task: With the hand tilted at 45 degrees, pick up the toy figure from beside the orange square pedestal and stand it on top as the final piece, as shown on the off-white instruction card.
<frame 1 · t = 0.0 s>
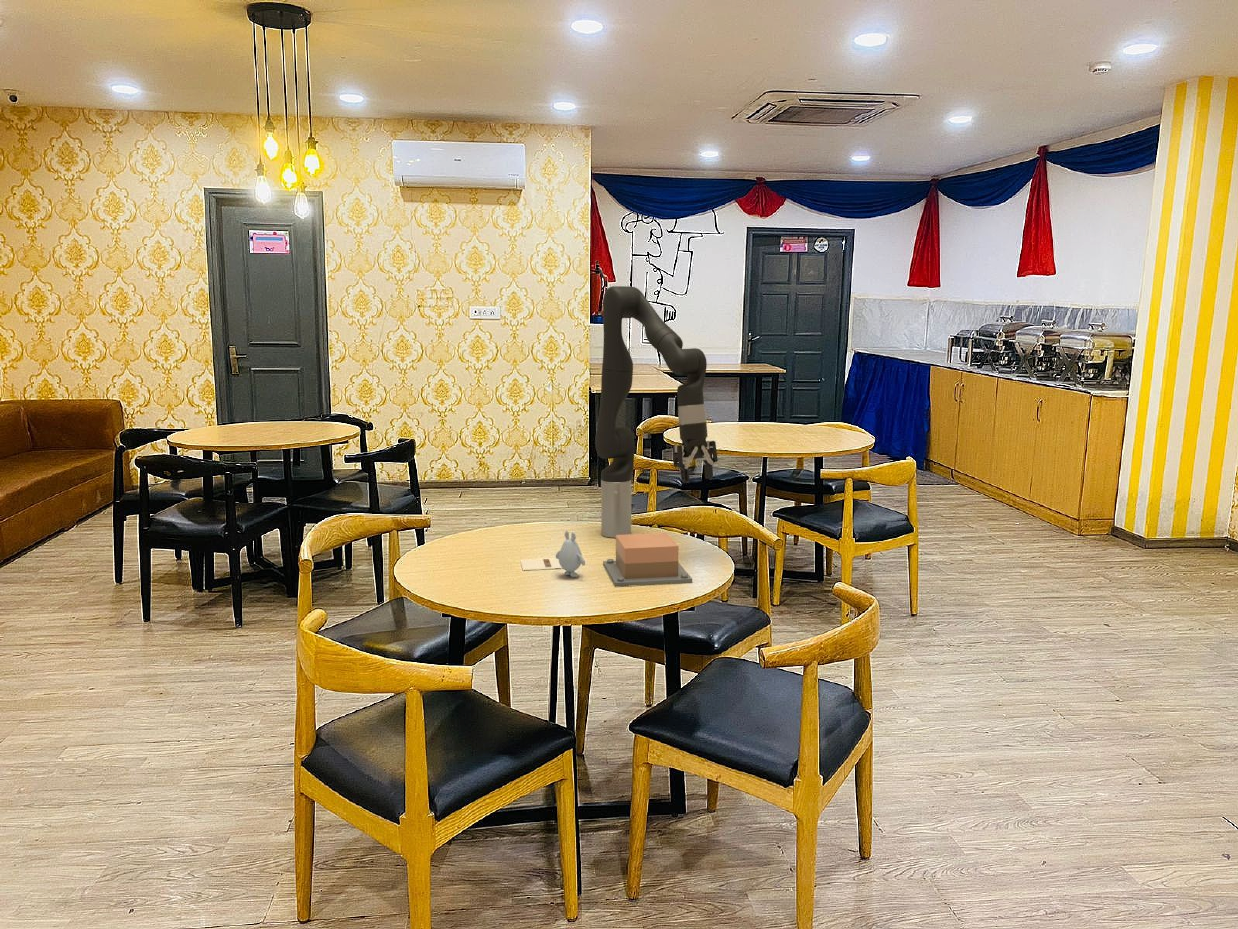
hand: (697, 480, 252), 22 cm above the table, tool pointing down, fingers open, 8 cm apart
orange square pedestal: (646, 573, 243), on the table
toy figure: (570, 577, 241), on the table
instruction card: (547, 564, 252), on the table
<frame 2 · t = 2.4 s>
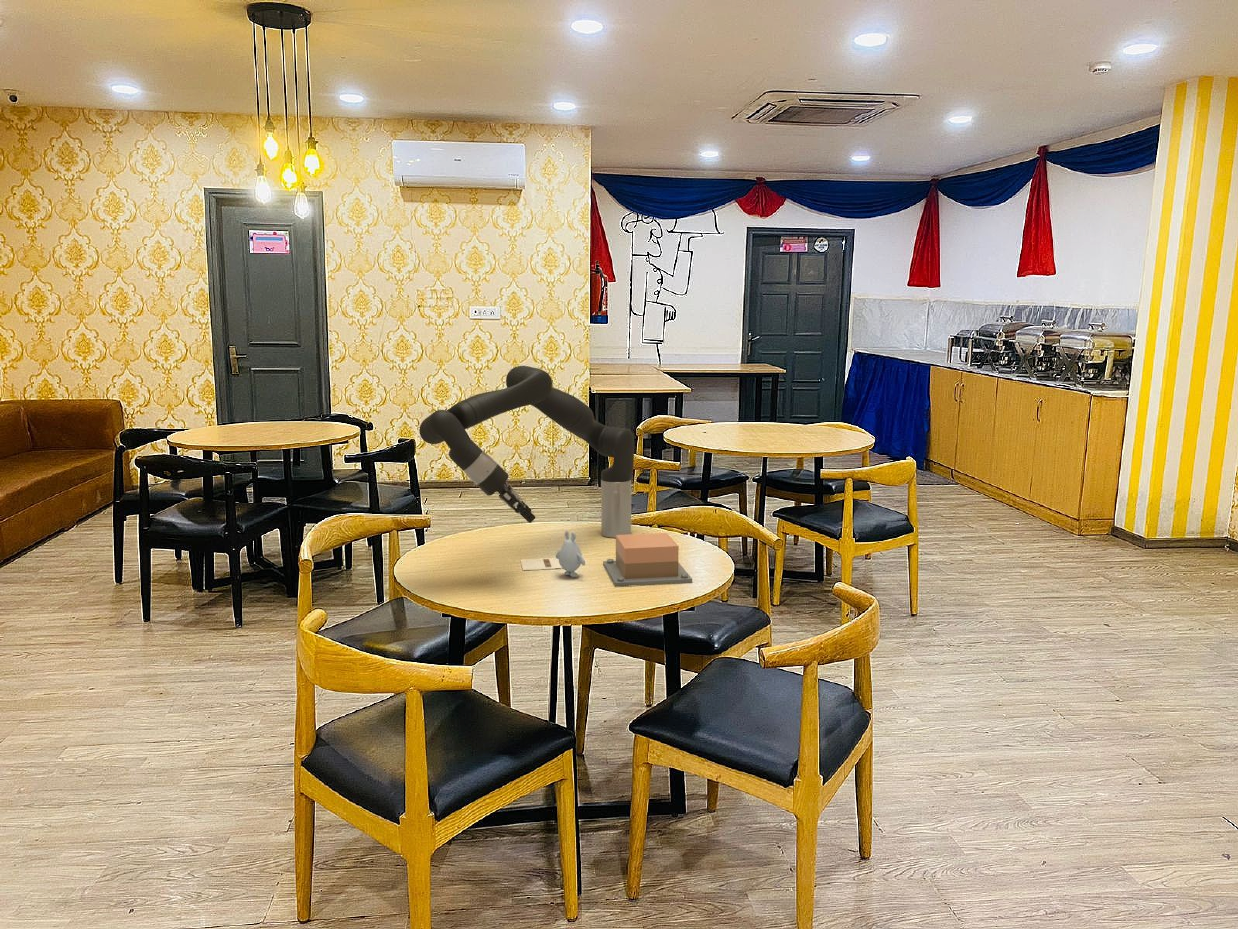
hand: (530, 516, 235), 17 cm above the table, tool tilted 45°, fingers open, 8 cm apart
nothing on the table moved.
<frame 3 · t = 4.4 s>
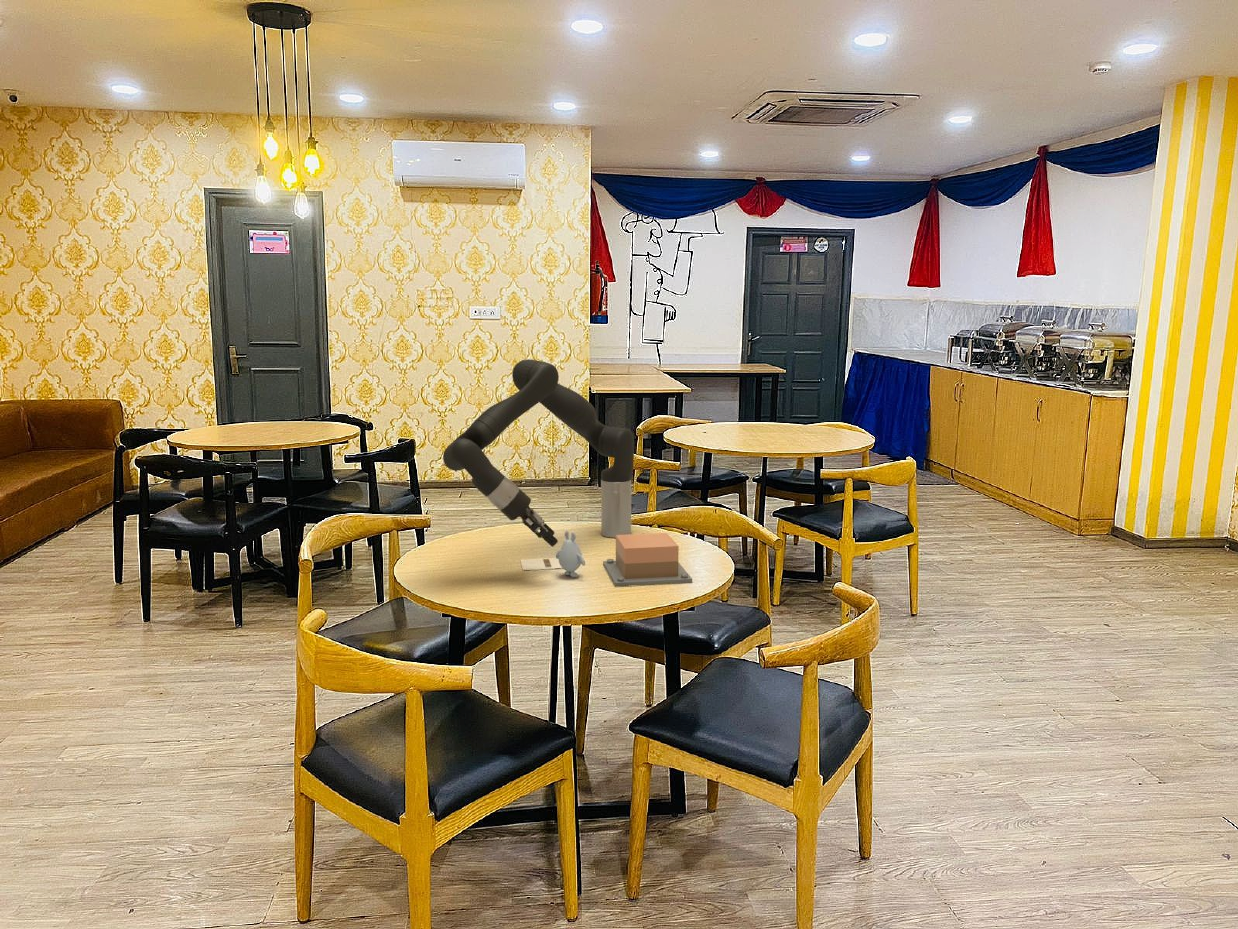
hand: (553, 539, 238), 10 cm above the table, tool tilted 45°, fingers open, 8 cm apart
nothing on the table moved.
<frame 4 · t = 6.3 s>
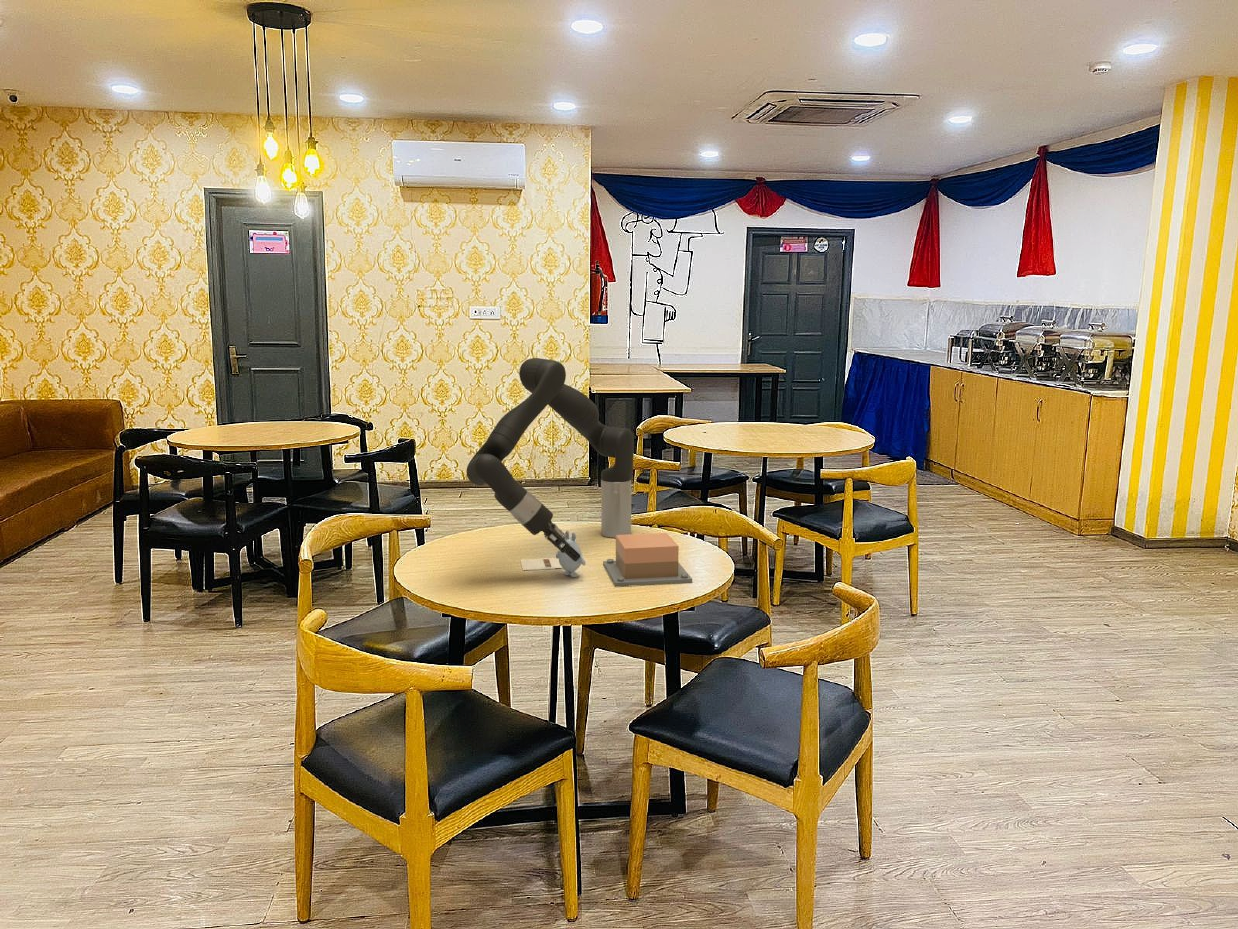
hand: (576, 555, 240), 6 cm above the table, tool tilted 45°, fingers closed on toy figure, 6 cm apart
toy figure: (570, 576, 241), on the table, touching gripper
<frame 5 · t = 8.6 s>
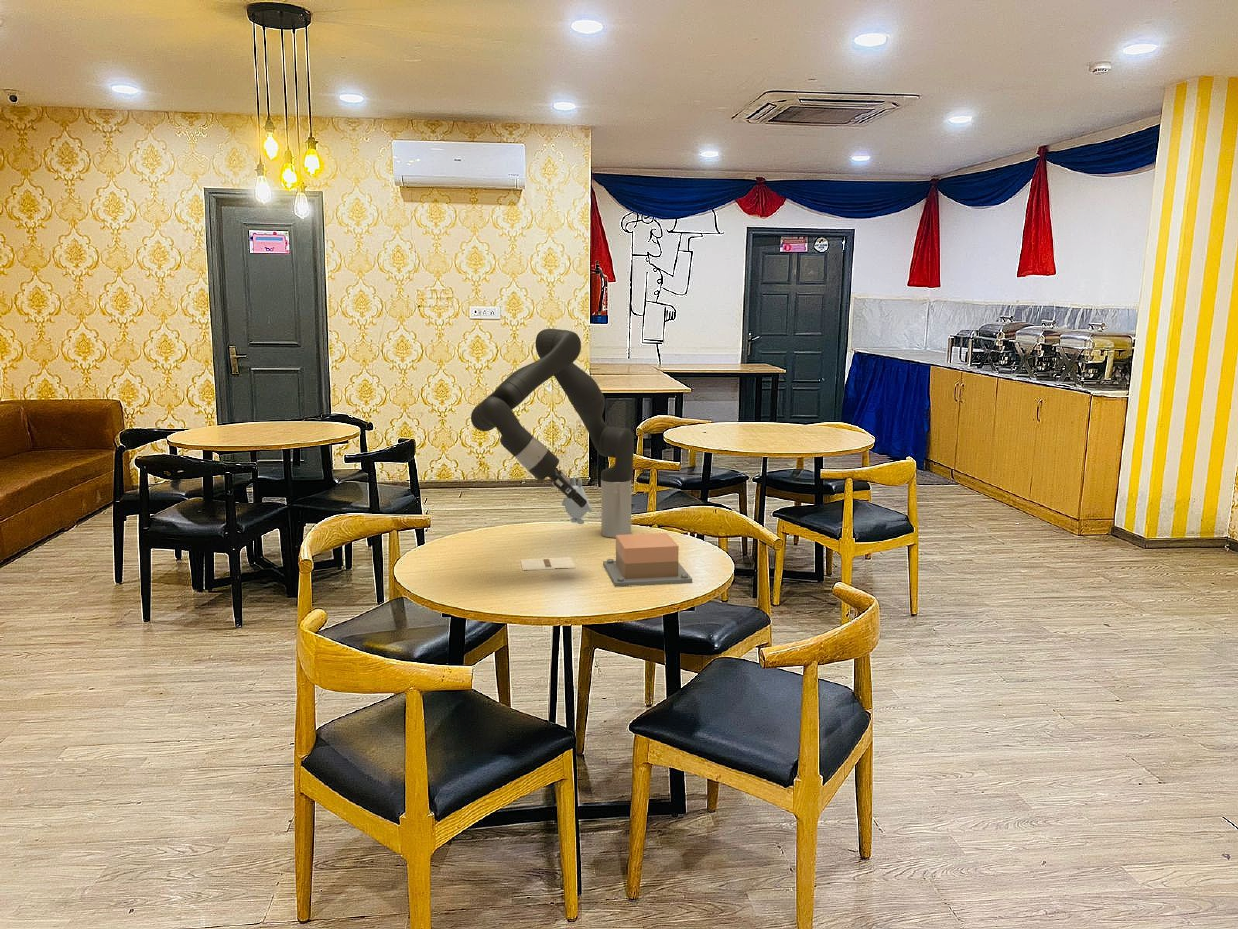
hand: (582, 501, 238), 20 cm above the table, tool tilted 45°, fingers closed on toy figure, 6 cm apart
toy figure: (576, 523, 239), point 14 cm above the table, touching gripper
when the fingers open (16 cm above the table, at t = 11.3 s): toy figure drops 1 cm, resting on orange square pedestal.
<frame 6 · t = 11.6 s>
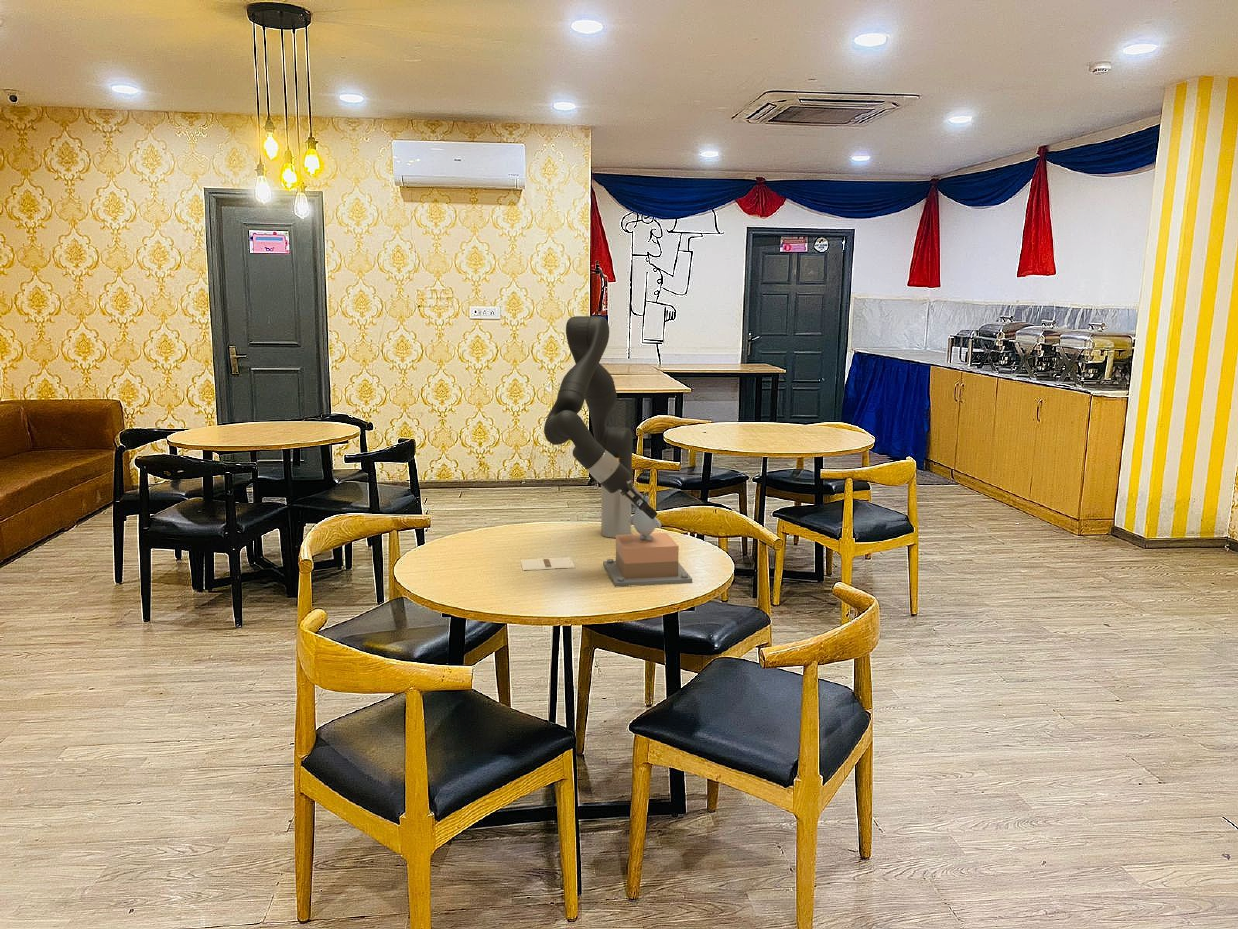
hand: (651, 512, 240), 16 cm above the table, tool tilted 45°, fingers open, 8 cm apart
toy figure: (646, 540, 242), point 9 cm above the table, touching orange square pedestal
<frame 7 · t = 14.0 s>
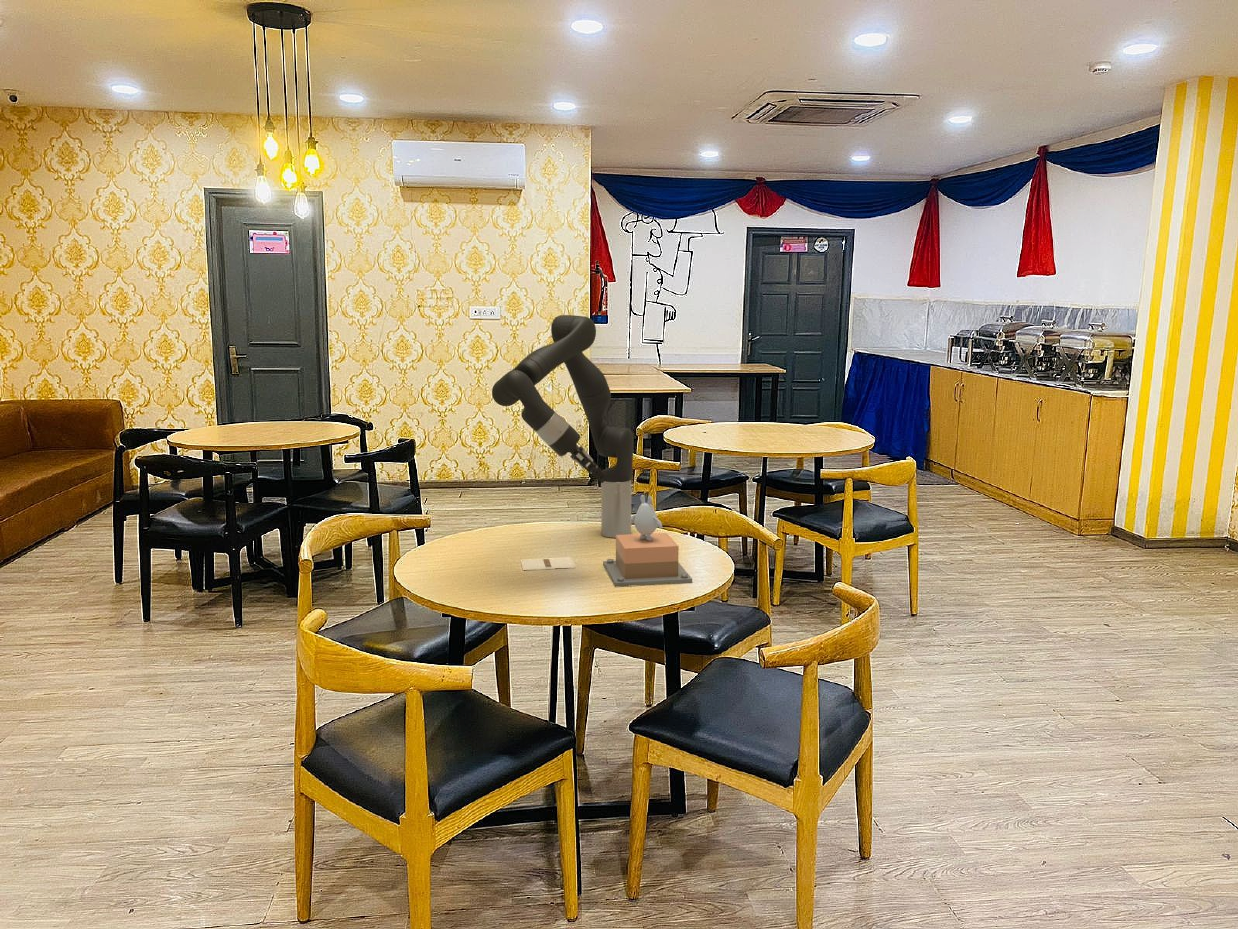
hand: (602, 477, 237), 26 cm above the table, tool tilted 45°, fingers open, 8 cm apart
nothing on the table moved.
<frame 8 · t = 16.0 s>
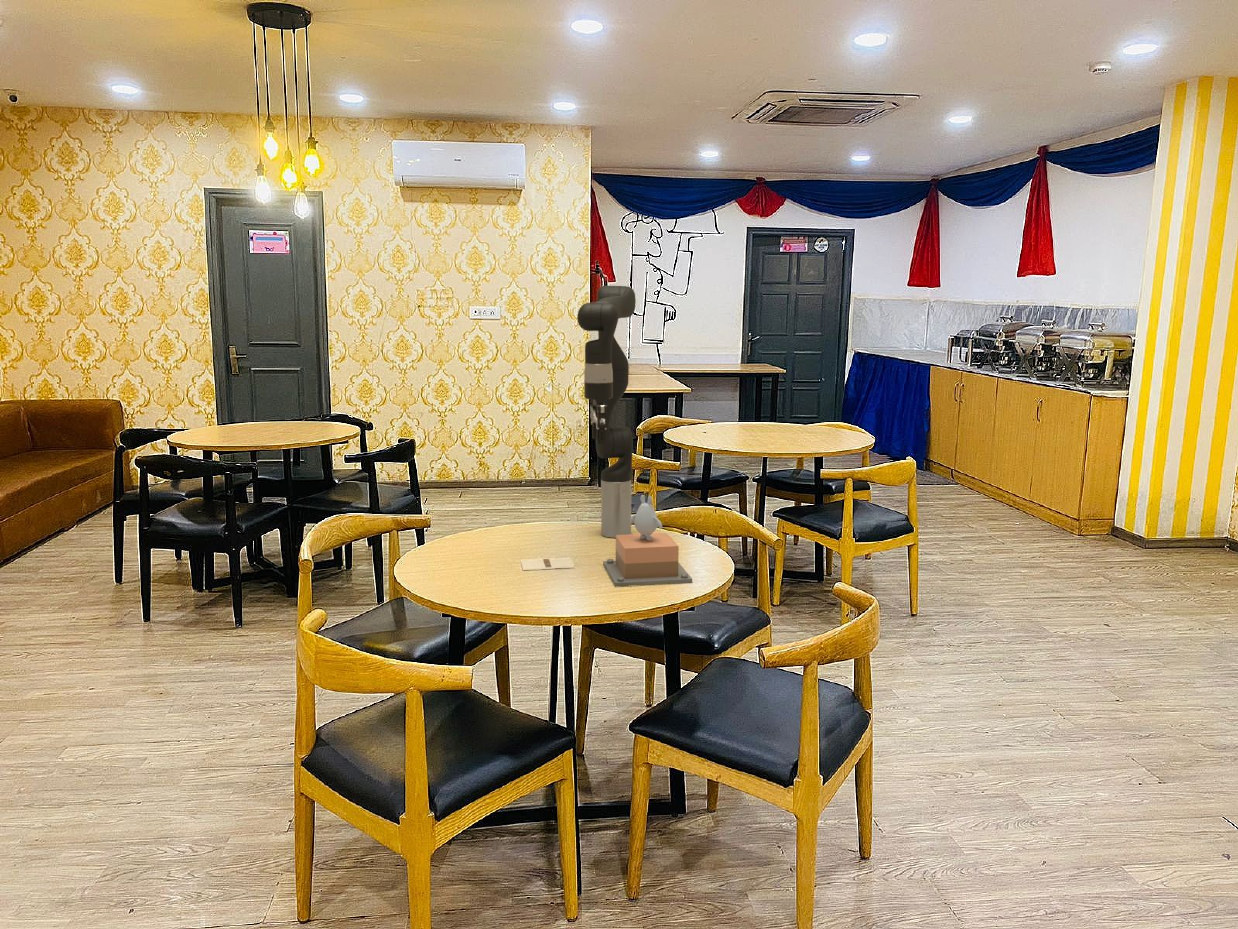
hand: (598, 441, 245), 34 cm above the table, tool pointing down, fingers open, 8 cm apart
nothing on the table moved.
at the end: toy figure inside the target area on the orange square pedestal (0.3 cm from its centre), point 8.8 cm above the orange square pedestal's base; toy figure tilted 0°; the gripper is holding nothing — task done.
